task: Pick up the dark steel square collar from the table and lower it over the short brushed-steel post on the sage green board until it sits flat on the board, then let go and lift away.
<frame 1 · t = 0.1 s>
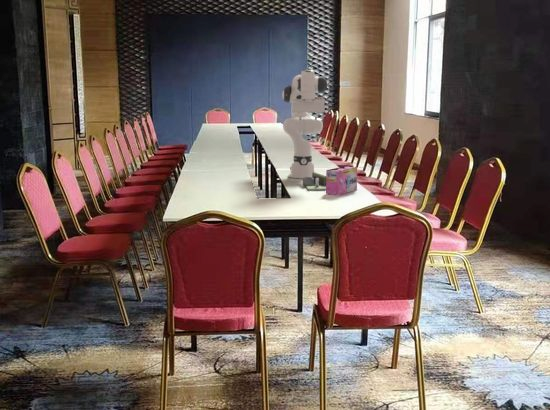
hand: (308, 119, 363), 39 cm above the table, tool pointing down, fingers open, 8 cm apart
gum box: (341, 192, 341), on the table
collar: (308, 186, 359), on the table
handheld radio: (318, 184, 367), on the table
post board: (321, 189, 349), on the table
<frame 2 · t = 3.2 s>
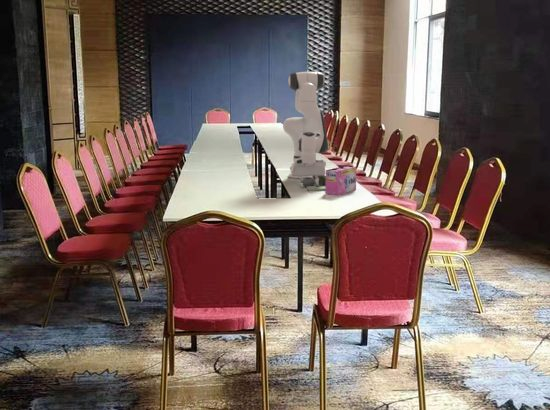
hand: (308, 183, 359), 2 cm above the table, tool pointing down, fingers closed on collar, 6 cm apart
collar: (308, 186, 359), on the table, touching gripper
everything else where it was.
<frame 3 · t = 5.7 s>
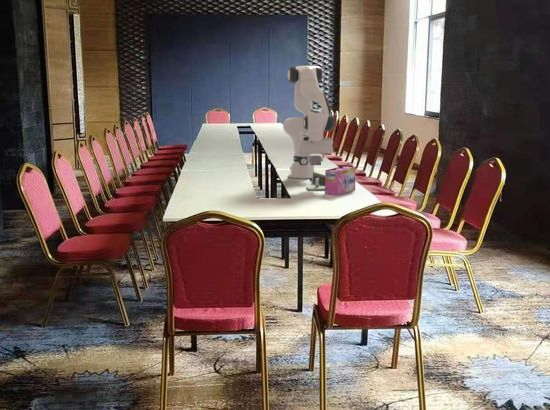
hand: (315, 161, 349), 16 cm above the table, tool pointing down, fingers closed on collar, 6 cm apart
collar: (315, 164, 349), point 14 cm above the table, touching gripper
everything else where it was.
when the fingers open (4 cm above the table, at t = 8.4 s): collar stays where it is, resting on post board.
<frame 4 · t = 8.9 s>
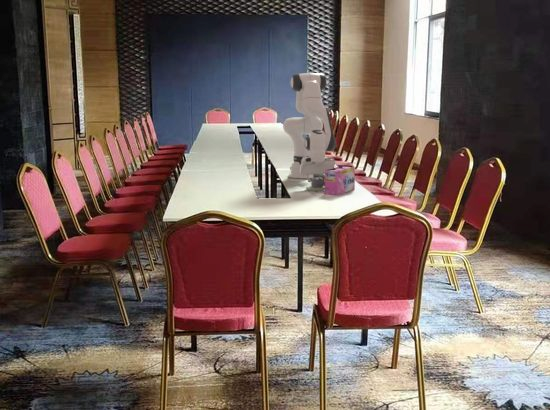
hand: (317, 181, 350), 4 cm above the table, tool pointing down, fingers open, 8 cm apart
collar: (317, 186, 350), point 1 cm above the table, touching post board
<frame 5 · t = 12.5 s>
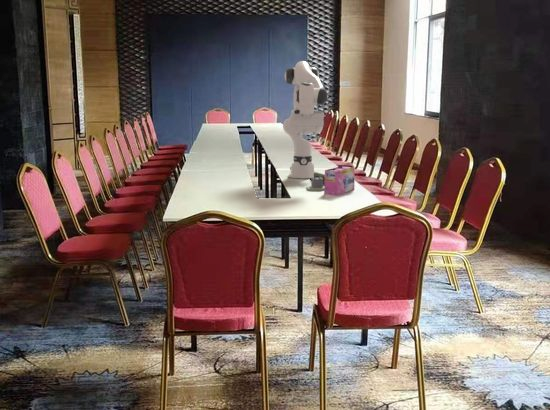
hand: (306, 134, 350), 31 cm above the table, tool pointing down, fingers open, 8 cm apart
at the end: collar 0.1 cm from the target spot on the post board, point 1.2 cm above the post board's base; collar tilted 0°; the gripper is holding nothing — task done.
